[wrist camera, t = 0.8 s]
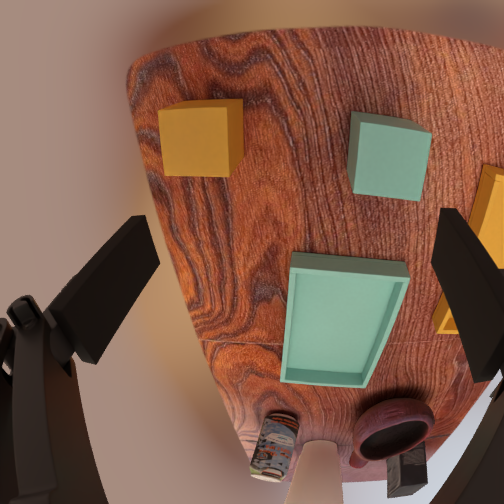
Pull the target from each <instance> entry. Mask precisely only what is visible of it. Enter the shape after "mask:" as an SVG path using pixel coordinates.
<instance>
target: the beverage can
mask: <svg viewBox="0 0 504 504" xmlns="http://www.w3.org/2000/svg"><path fill="white" fill-rule="evenodd" d="M298 430H299V423H298V422H297V421H296V420H295V419H294V418H293V417H291V416H288V415H284V414H271V415H270V416H267V417H265V419H264V422H263V425H262V429H261V432H260V435H259V438H258V442H257V445H256V448H255V451H254V454H253V458H252V461H251V464H250V471H251V476H252V477H254V478H257V479H261V480H265V481H269V482H281V480H282V479H283V478H284V477H285V476H286V475H287V472H288V468H289V465H290V461H291V457H292V453H293V450H294V446H295V442H296V438H297V434H298Z"/></svg>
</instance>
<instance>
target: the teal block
mask: <svg viewBox="0 0 504 504" xmlns="http://www.w3.org/2000/svg"><path fill="white" fill-rule="evenodd" d="M431 138H432V133H430V132H429V131H427V130H426V129H424V128H423V127H421V126H420V125H418V124H417V123H415V122H413V121H412V120H408V119H403V118H397V117H391V116H384V115H378V114H371V113H363V112H355V111H352V112H351V126H350V138H349V149H348V160H347V173H348V177H349V180H350V184H351V187H352V191H353V193H356V194H365V195H374V196H382V197H390V198H398V199H405V200H413V201H420V198H421V193H422V188H423V183H424V178H425V173H426V168H427V162H428V156H429V150H430V144H431Z"/></svg>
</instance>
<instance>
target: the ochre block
mask: <svg viewBox="0 0 504 504" xmlns="http://www.w3.org/2000/svg"><path fill="white" fill-rule="evenodd" d="M158 120H159V130H160V140H161V150H162V159H163V167H164V175H165V176H209V177H230V176H231V174H232V173H233V171H234V170H235V169H236V167H237V166H238V164H239V163H240V162H241V160H242V159H243V157H244V133H243V99H210V100H190V101H182V102H180V103H177V104H174V105H171V106H168V107H166V108H163V109H160V110H158Z"/></svg>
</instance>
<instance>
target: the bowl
mask: <svg viewBox="0 0 504 504" xmlns="http://www.w3.org/2000/svg"><path fill="white" fill-rule="evenodd" d="M433 424H434V425H435V419H434V415H433V412H432V410H431V408H430V407H429V406H428V405H426V404H425V403H423V402H422V401H419V400H416V399H412V398H393V399H388V400H385V401H382V402H380V403H378V404H376V405H374V406H373V407H371V408H370V409H368V410H367V411H366V412H365V413H364V414H363V415H362V416H361V417H360V418H359V419H358V421H357V423H356V425H355V427H354V431H353V437H352V438H353V445H354V450H353V452H352V455H351V457H350V461H349V464H350V466H352V467H354V468H362V467H363V466H365V465H366V464H367V463H368V461H380V460H384V459H387V458H390V457H394V456H396V455H399V454H402V453H404V452H406V451H408V450H410V449H412V448H413V447H415V446H416V445H418V444H419V443H421V442H422V441H423V440H425V439H426V438H427V437H428V436H429V434H430V433H431V431H432V429H433Z"/></svg>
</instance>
